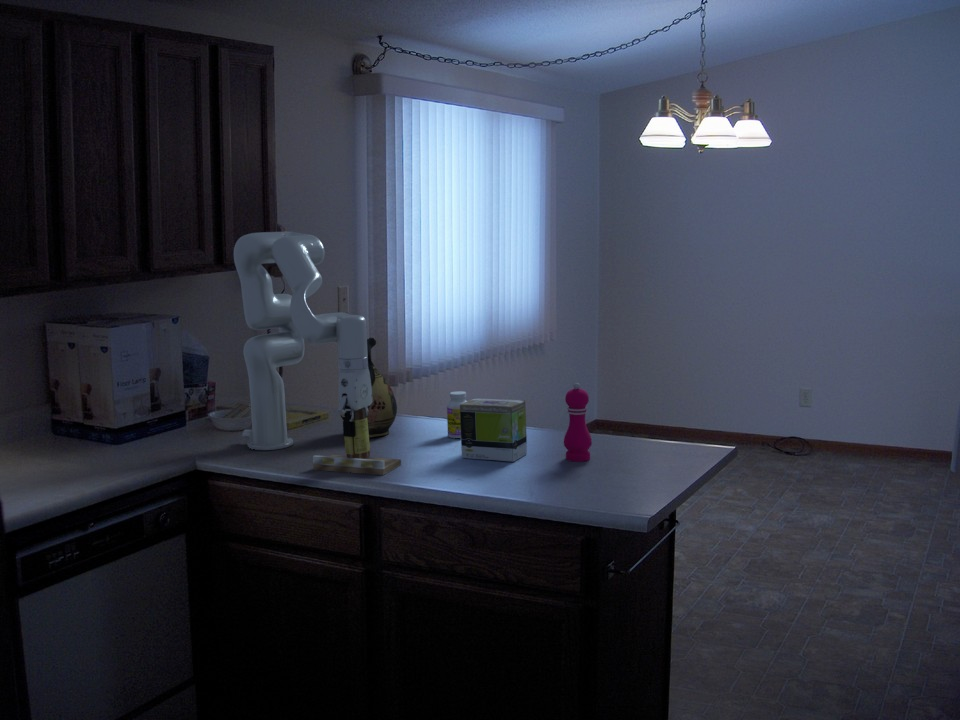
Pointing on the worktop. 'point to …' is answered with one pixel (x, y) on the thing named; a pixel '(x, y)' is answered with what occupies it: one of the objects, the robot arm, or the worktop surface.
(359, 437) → the sauce bottle
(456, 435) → the supplement bottle
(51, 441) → the worktop surface
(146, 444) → the worktop surface
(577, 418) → the pepper mill
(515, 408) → the tea box
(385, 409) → the ceramic jug
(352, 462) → the tan white-edged panel
